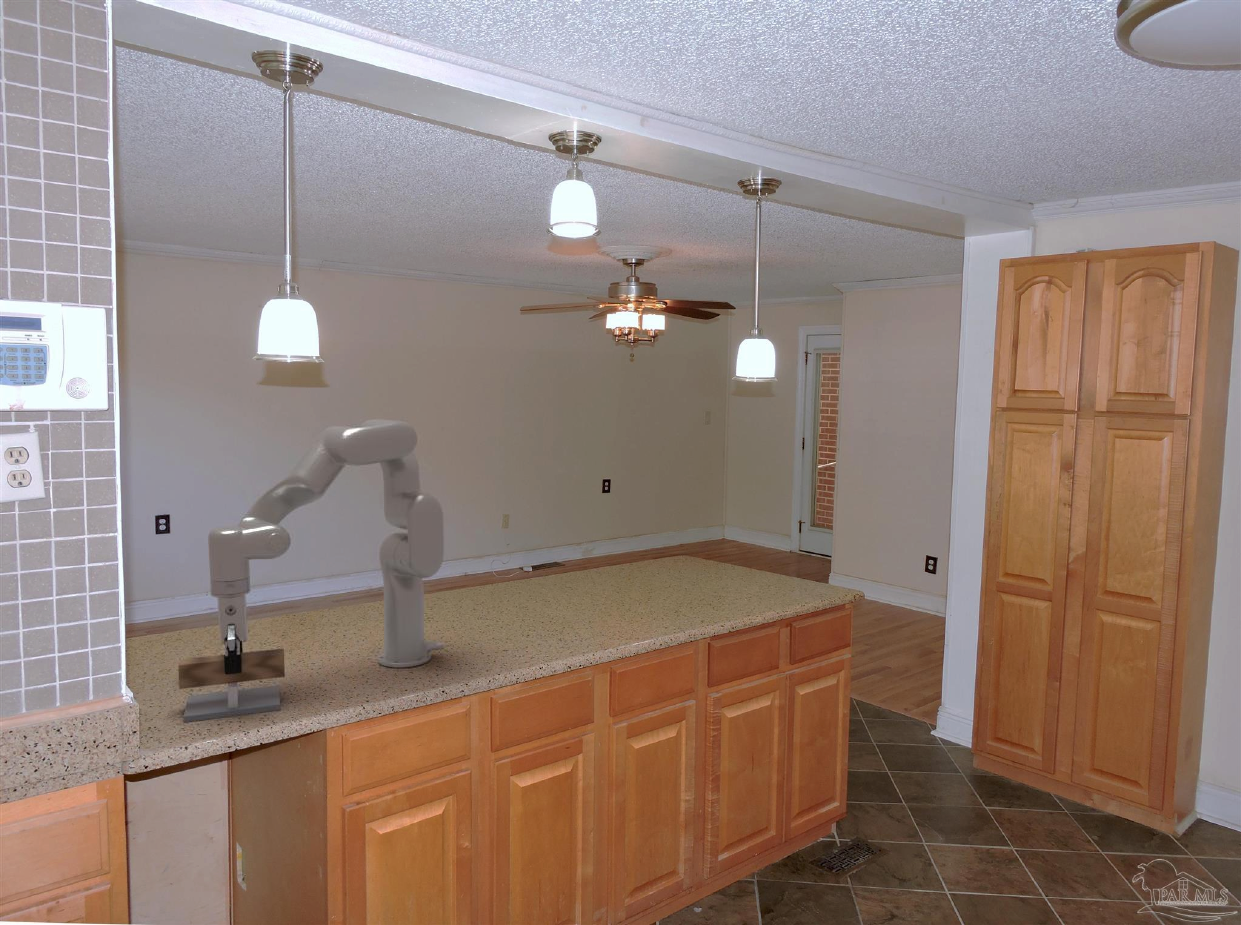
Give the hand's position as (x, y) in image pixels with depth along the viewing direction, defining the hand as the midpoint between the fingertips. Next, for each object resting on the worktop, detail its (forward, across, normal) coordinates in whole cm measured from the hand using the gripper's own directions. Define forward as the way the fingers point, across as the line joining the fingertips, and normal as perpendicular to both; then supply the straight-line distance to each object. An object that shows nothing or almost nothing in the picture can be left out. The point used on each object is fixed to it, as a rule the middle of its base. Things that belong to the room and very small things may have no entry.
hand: (234, 665), depth 178 cm
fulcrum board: (+9, 0, 0) cm, 9 cm away
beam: (+3, 0, 0) cm, 3 cm away
